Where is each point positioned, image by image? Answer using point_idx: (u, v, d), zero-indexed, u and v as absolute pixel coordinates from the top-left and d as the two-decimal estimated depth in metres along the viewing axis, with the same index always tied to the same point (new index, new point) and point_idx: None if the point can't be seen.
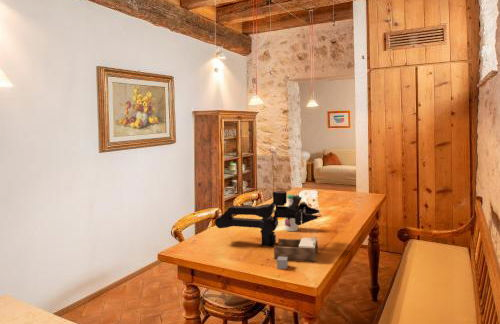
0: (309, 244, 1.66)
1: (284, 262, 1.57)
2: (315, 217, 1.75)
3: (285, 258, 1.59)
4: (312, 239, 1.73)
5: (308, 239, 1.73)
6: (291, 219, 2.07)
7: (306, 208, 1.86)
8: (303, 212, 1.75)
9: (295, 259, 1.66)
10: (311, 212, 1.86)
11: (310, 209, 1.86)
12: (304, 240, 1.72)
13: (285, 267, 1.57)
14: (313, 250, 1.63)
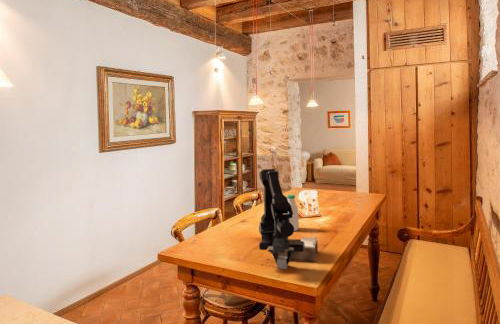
0: (309, 244, 1.66)
1: (284, 262, 1.57)
2: None
3: (285, 258, 1.59)
4: (312, 239, 1.73)
5: (308, 239, 1.73)
6: (291, 219, 2.07)
7: None
8: (270, 251, 1.57)
9: (295, 259, 1.66)
10: None
11: (287, 255, 1.58)
12: (304, 240, 1.72)
13: (285, 267, 1.57)
14: (313, 250, 1.63)
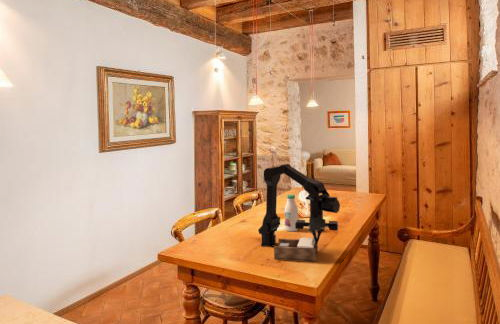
0: (308, 244, 1.67)
1: None
2: (315, 241, 1.69)
3: (287, 244, 1.73)
4: (311, 239, 1.73)
5: (307, 239, 1.73)
6: (291, 219, 2.07)
7: None
8: None
9: (295, 259, 1.66)
10: (317, 234, 1.69)
11: None
12: (303, 240, 1.72)
13: None
14: (313, 250, 1.63)
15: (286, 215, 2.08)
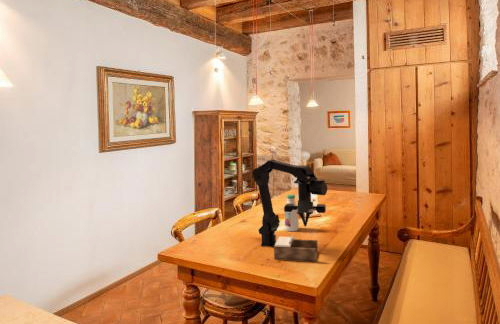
0: (285, 243, 1.69)
1: None
2: None
3: None
4: (289, 238, 1.76)
5: (285, 238, 1.76)
6: (291, 219, 2.07)
7: (306, 213, 1.71)
8: (299, 214, 1.71)
9: (295, 259, 1.66)
10: None
11: None
12: (281, 239, 1.75)
13: None
14: (313, 250, 1.63)
15: (286, 215, 2.08)
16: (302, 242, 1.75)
